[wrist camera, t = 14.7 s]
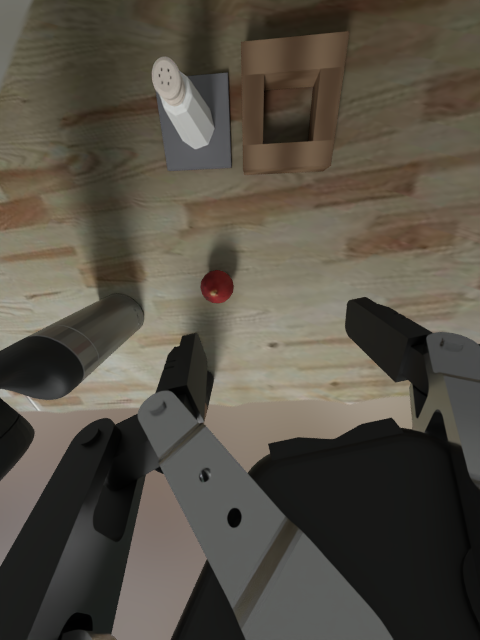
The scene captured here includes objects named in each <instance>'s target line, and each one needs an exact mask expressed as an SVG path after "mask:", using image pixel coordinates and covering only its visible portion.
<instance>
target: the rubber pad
mask: <svg viewBox="0 0 480 640" xmlns="http://www.w3.org/2000/svg"><path fill="white" fill-rule="evenodd" d="M187 77H188V78H189V79H190V81H191V82H192V84H193V85H194V87H195V88H196V89H197V91H198V92H199V94H200V95H201V97H202V98H203V100H204V101H205V103H206V104H207V106H208V107H209V109H210V111H211V115H212V119H213V124H214V128H215V129H214V131H213V134H212V137H211V139H210V142H209V144H208V145H206V146H203V147H201V148H198V149H194V148H192V147H191V146H189V145H188V144H187V143H185V142H184V141H182V139H181V137H180V135H179V134H178V132H177V130H176V129H175V127H174V125H173V123H172V122H171V120H170V118H169V116H168V115H167V113H166V111H165V109H164V107H163V104H162V101H161V98H160V95H159V93H158V92H157V91H156V96H157V103H158V109H159V116H160V123H161V129H162V136H163V142H164V149H165V156H166V162H167V169H168V171H177V170H197V169H217V168H231V140H230V113H229V86H228V73H217V74H206V75H194V76H187Z"/></svg>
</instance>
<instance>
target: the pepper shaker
mask: <svg viewBox="0 0 480 640" xmlns="http://www.w3.org/2000/svg"><path fill="white" fill-rule="evenodd" d="M152 81H153V85H154V87H155V89H156V91H157V92H158V93H159V95H160V98H161V101H162V104H163V107H164V109H165V111H166V113H167V115H168V116H169V118H170V120H171V122H172V123H173V125H174V127H175V129H176V130H177V132H178V134H179V135H180V137H181V139H182V141H184V142H185V143H187V144H188V145H189V146H191V147H192V148H194V149H198V148H201V147H203V146H206V145H208V144H209V142H210V139H211V137H212V134H213V131H214V129H215V128H214V124H213V119H212V115H211V111H210V109H209V107H208V106H207V104H206V103H205V101H204V100H203V98H202V97H201V95H200V94H199V92H198V91H197V89H196V88H195V87H194V85H193V84H192V82H191V81H190V79H189V78H188V77H187V76H186V75H184V74H183V73H182V72H180V71H179V69H178V67H177V65H176V63H175V62H174V61H173V60H172V59H170V58H168V57H161V58H158V59H157V61H156V62H155V63H154V65H153V69H152Z"/></svg>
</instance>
